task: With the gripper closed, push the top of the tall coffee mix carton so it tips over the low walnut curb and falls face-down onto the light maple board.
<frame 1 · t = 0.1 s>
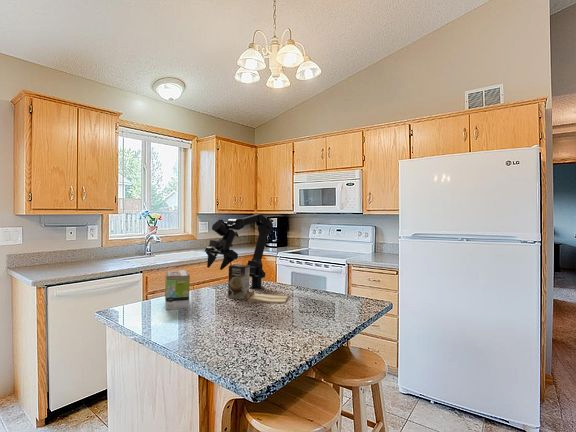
hand: (214, 268, 162), 15 cm above the countertop, tool tilted 30°, fingers open, 9 cm apart
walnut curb: (249, 297, 165), on the countertop
maple board: (268, 299, 163), on the countertop
tea box: (176, 305, 151), on the countertop
coffee box: (238, 297, 166), on the countertop
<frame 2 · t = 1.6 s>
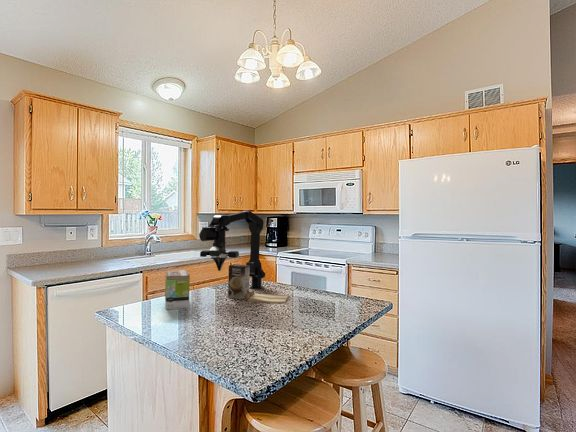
hand: (219, 270, 167), 13 cm above the countertop, tool pointing down, fingers closed
nothing on the countertop moved.
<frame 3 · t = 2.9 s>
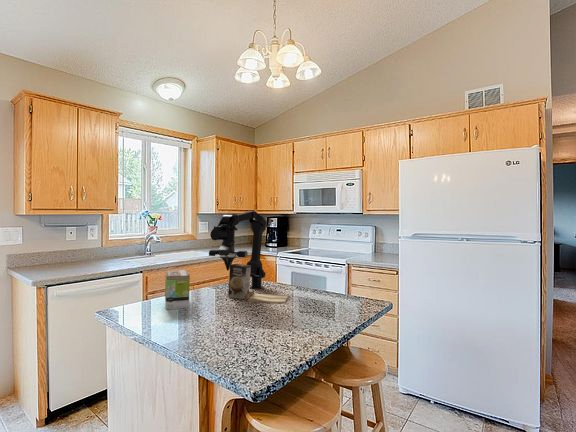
hand: (227, 270, 166), 13 cm above the countertop, tool pointing down, fingers closed
coffee box: (238, 297, 166), on the countertop, touching gripper
everything else where it was.
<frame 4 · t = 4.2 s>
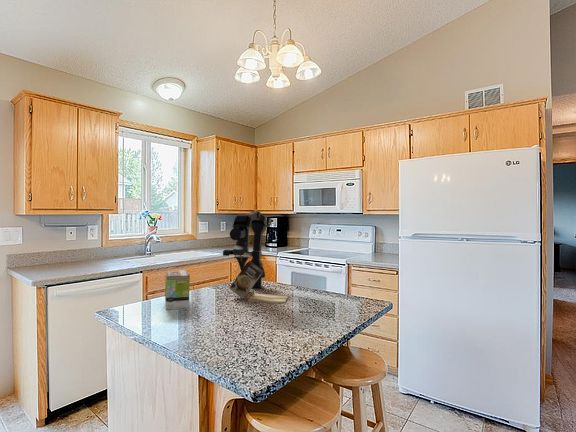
hand: (241, 270, 165), 14 cm above the countertop, tool pointing down, fingers closed
coffee box: (237, 292, 165), point 2 cm above the countertop, touching gripper, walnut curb
everything else where it was.
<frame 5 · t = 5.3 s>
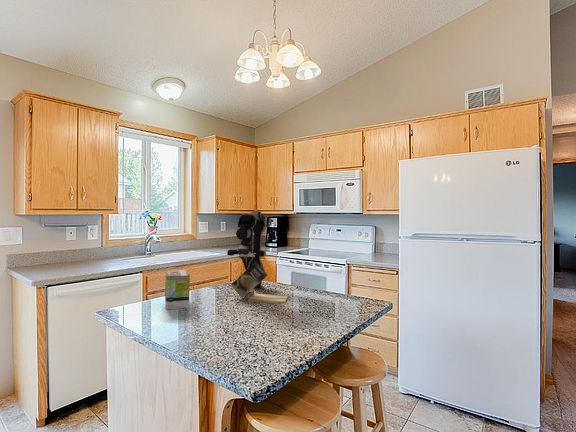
hand: (246, 270, 165), 14 cm above the countertop, tool pointing down, fingers closed
coffee box: (237, 290, 165), point 3 cm above the countertop, touching gripper, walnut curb
everything else where it was.
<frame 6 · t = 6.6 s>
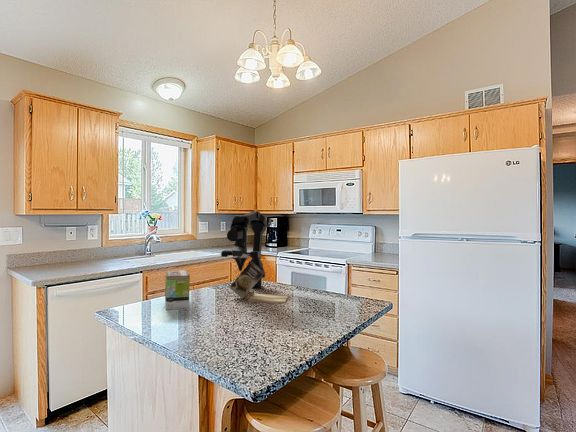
hand: (240, 271, 166), 13 cm above the countertop, tool pointing down, fingers closed
coffee box: (237, 292, 165), point 3 cm above the countertop, touching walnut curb
everything else where it was.
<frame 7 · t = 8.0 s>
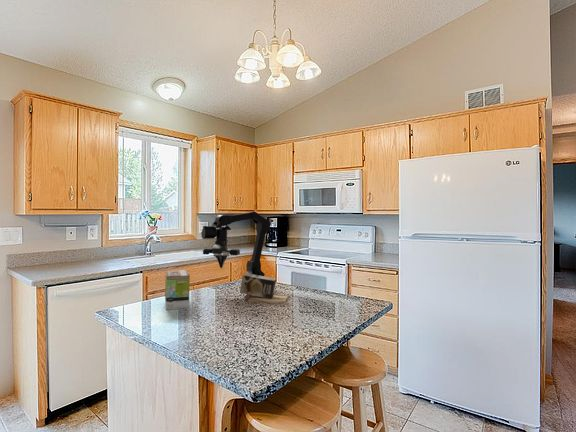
hand: (221, 267, 175), 13 cm above the countertop, tool pointing down, fingers closed
coffee box: (242, 282, 165), point 8 cm above the countertop, touching maple board, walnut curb
everything else where it was.
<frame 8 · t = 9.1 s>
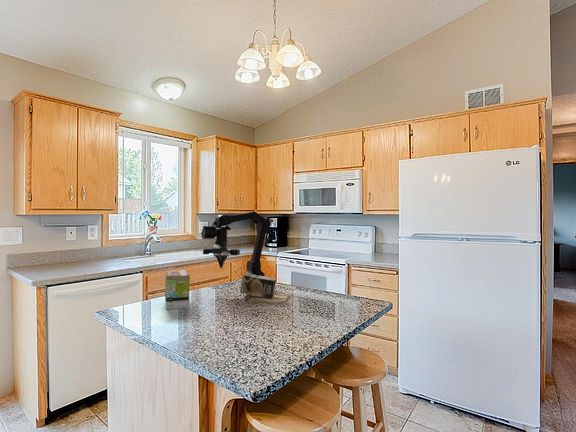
hand: (221, 267, 175), 13 cm above the countertop, tool pointing down, fingers closed
nothing on the countertop moved.
at the end: coffee box tilted 98°; coffee box 13.5 cm from the maple board (horizontally); coffee box moved 7.9 cm from its start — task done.
